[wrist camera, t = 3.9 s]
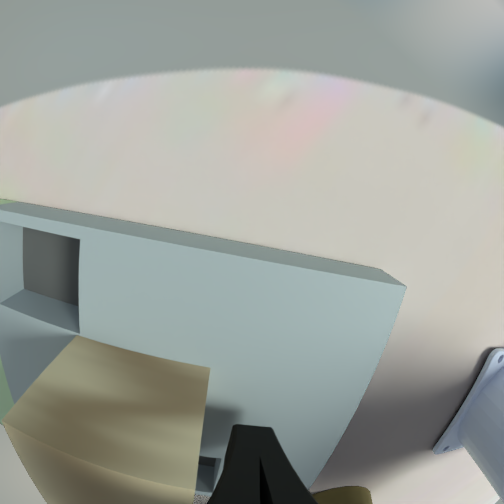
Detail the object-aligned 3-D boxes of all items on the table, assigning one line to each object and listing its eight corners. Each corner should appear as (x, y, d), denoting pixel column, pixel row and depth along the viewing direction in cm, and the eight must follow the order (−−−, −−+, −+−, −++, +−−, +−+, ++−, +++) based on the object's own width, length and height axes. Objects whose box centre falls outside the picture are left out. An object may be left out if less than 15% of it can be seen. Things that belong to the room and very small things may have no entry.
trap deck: (380, 269, 10) (452, 318, 6) (295, 473, 13) (308, 537, 9) (-36, 192, 9) (-102, 203, 5) (-9, 390, 11) (-45, 430, 7)
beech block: (210, 367, 9) (195, 489, 4) (196, 453, 10) (186, 549, 5) (77, 334, 8) (1, 420, 4) (89, 425, 9) (49, 506, 5)
